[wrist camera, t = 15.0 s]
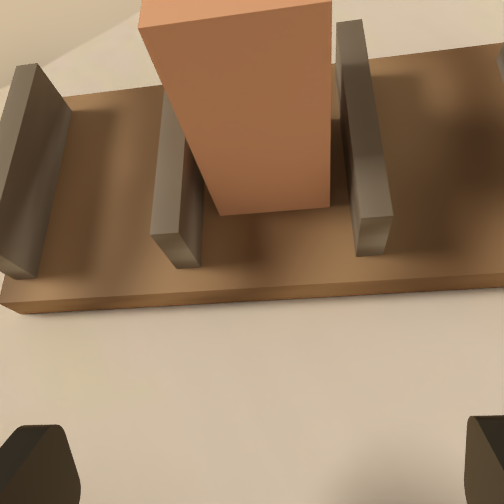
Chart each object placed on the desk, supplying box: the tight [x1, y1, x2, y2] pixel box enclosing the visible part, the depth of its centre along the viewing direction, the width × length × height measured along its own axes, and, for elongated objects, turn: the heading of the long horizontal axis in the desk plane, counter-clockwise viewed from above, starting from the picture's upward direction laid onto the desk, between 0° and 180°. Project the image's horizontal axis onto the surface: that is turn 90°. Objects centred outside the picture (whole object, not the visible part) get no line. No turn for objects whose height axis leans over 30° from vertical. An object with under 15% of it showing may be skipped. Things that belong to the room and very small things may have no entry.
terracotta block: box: [138, 0, 332, 216], centre depth 15 cm, size 4×4×9 cm
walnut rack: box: [0, 19, 504, 314], centre depth 19 cm, size 23×11×4 cm, turn 91°
